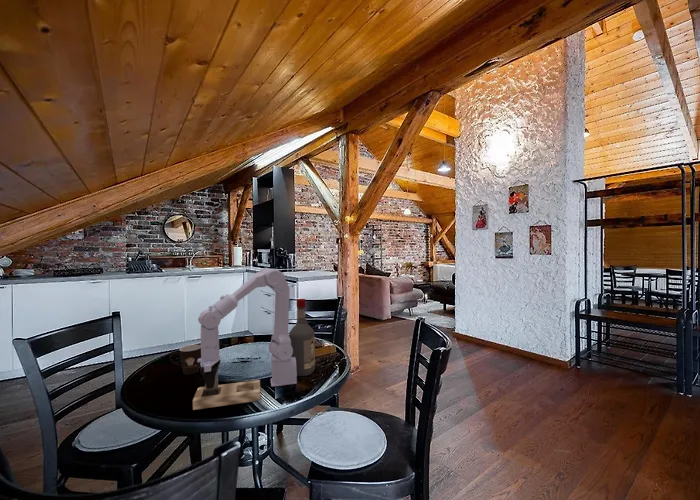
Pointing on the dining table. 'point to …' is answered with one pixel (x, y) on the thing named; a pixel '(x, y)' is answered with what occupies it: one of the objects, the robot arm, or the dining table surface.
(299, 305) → the liquor
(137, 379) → the dining table surface
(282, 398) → the dining table surface
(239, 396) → the block
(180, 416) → the dining table surface
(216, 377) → the drill rod
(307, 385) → the dining table surface
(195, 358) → the coffee mug
